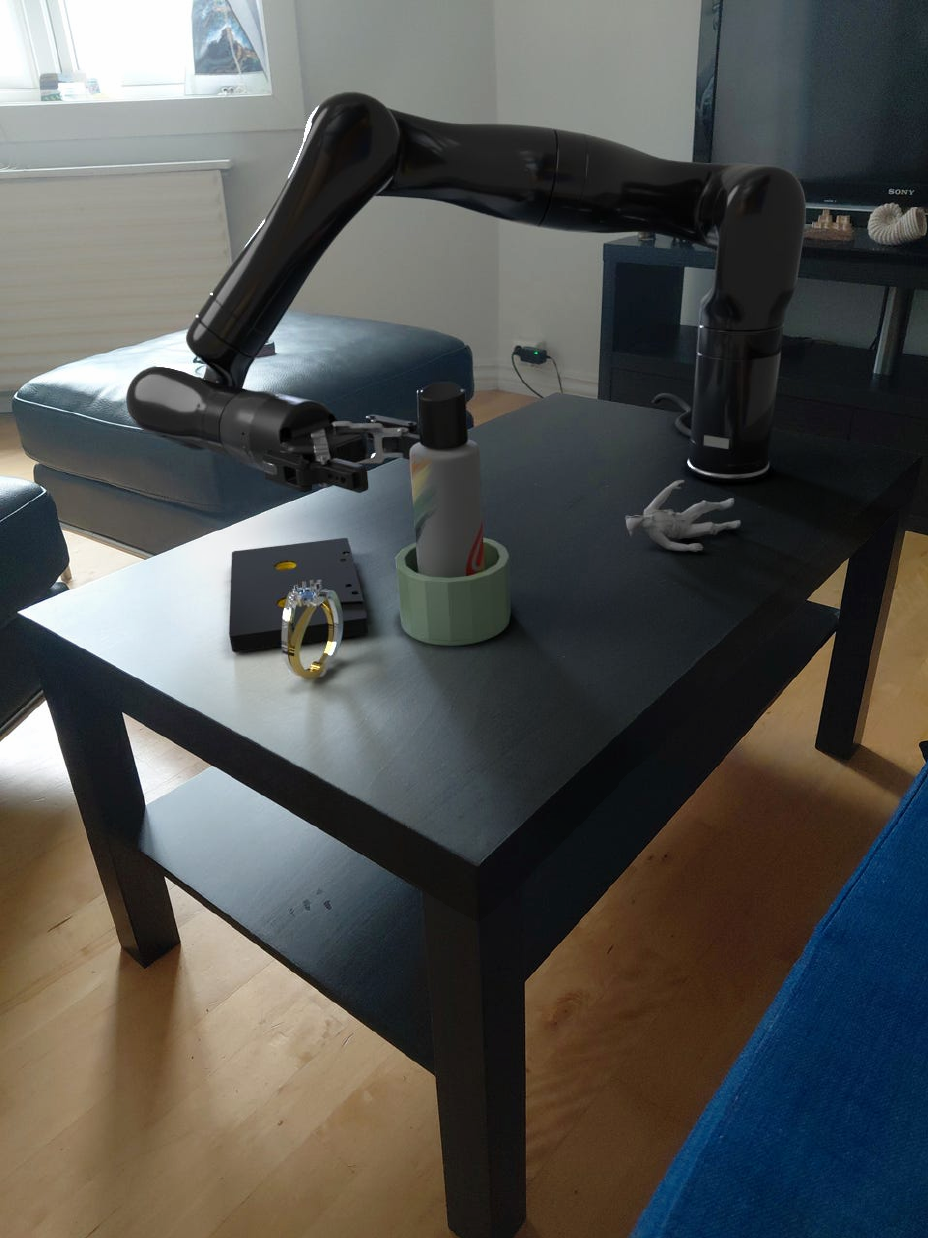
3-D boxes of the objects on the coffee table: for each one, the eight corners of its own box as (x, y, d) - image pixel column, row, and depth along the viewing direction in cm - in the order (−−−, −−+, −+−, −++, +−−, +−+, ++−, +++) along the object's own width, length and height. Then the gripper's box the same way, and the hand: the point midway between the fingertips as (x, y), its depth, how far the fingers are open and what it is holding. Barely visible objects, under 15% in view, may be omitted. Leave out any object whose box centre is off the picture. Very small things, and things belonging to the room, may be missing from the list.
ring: (328, 650, 79) (317, 564, 75) (360, 658, 78) (350, 571, 74) (276, 691, 74) (261, 600, 70) (308, 701, 72) (295, 608, 69)
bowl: (397, 600, 87) (391, 540, 84) (499, 589, 88) (497, 529, 85) (406, 651, 78) (400, 586, 76) (519, 639, 79) (518, 574, 77)
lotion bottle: (494, 602, 84) (486, 378, 75) (473, 632, 80) (463, 397, 70) (435, 595, 86) (420, 376, 77) (411, 624, 82) (392, 394, 72)
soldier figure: (750, 551, 95) (665, 543, 89) (716, 570, 99) (631, 563, 92) (730, 482, 98) (645, 469, 91) (697, 503, 101) (613, 492, 95)
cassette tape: (369, 637, 81) (366, 614, 80) (232, 655, 79) (228, 633, 78) (349, 554, 97) (347, 534, 95) (234, 568, 95) (231, 548, 94)
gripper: (210, 413, 83) (334, 444, 74) (330, 378, 92) (454, 402, 83) (224, 493, 87) (344, 533, 77) (338, 452, 96) (458, 483, 86)
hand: (401, 465), depth 80 cm, fingers open, 8 cm apart
